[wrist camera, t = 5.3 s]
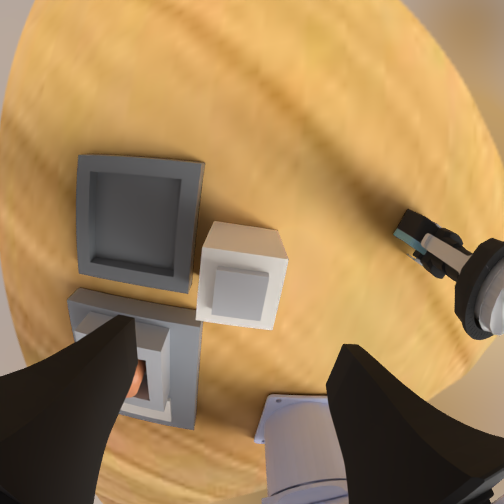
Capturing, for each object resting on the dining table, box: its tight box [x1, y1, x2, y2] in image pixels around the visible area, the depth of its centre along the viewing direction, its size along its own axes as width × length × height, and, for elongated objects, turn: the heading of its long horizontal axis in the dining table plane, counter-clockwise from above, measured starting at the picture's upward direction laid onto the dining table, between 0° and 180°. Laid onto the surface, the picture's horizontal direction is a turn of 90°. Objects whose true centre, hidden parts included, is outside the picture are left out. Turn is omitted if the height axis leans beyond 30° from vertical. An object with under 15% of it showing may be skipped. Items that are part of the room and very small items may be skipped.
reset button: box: [126, 359, 146, 398], centre depth 17 cm, size 3×3×3 cm
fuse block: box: [196, 221, 289, 330], centre depth 16 cm, size 4×4×6 cm
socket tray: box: [76, 154, 205, 294], centre depth 17 cm, size 8×8×1 cm
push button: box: [393, 209, 504, 340], centre depth 14 cm, size 7×5×10 cm
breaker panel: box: [67, 288, 203, 430], centre depth 19 cm, size 10×12×4 cm
